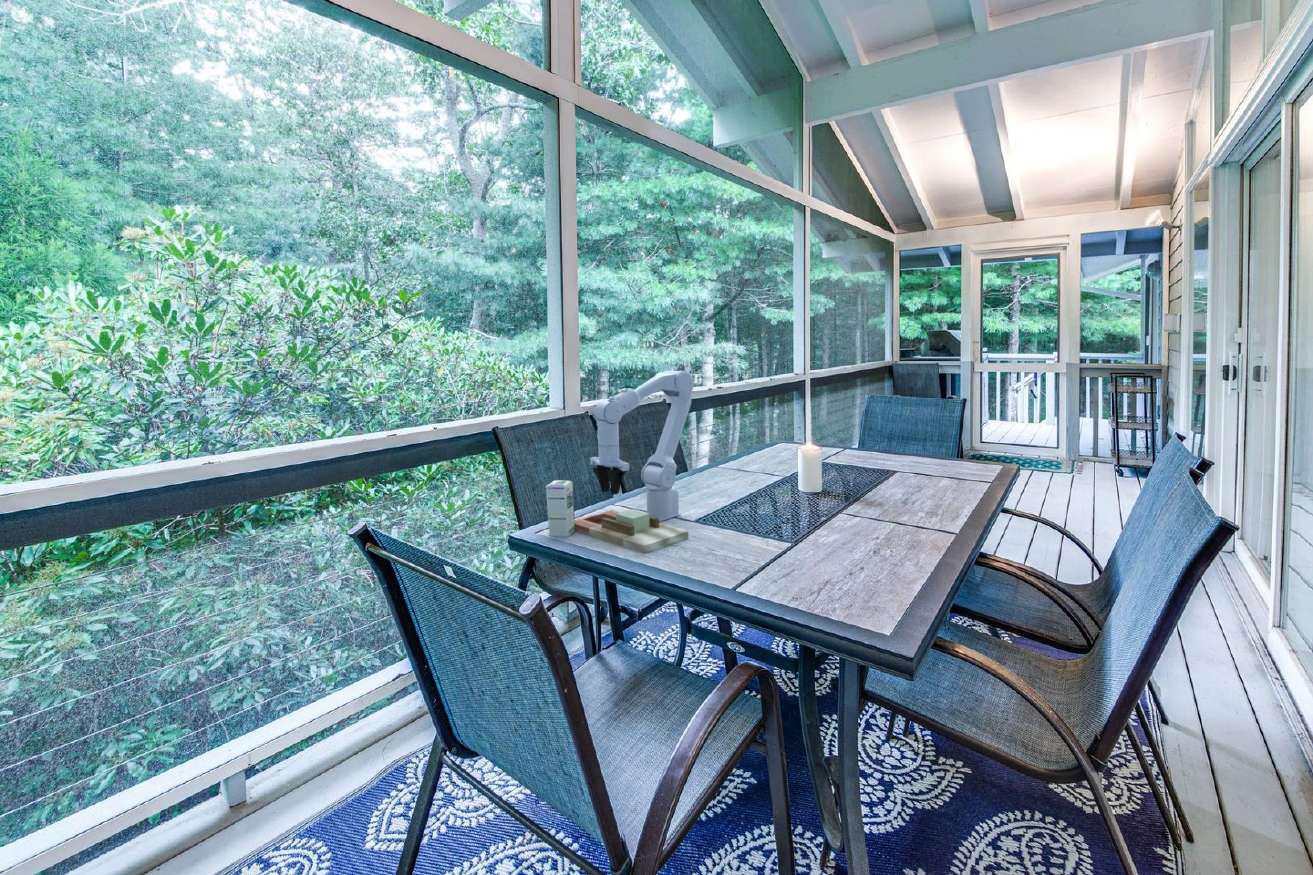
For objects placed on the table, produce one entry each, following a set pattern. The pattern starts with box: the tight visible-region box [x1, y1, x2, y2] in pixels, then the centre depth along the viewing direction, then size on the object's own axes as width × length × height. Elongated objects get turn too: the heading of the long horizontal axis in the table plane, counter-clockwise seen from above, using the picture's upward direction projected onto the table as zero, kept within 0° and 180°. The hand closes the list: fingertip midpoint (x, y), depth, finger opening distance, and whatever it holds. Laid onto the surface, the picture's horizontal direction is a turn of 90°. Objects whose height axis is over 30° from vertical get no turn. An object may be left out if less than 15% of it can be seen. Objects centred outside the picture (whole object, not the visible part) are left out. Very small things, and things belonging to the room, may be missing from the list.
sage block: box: [616, 508, 650, 533], centre depth 169 cm, size 6×7×4 cm
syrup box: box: [545, 479, 576, 537], centre depth 172 cm, size 6×6×14 cm
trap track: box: [574, 509, 689, 554], centre depth 172 cm, size 16×31×4 cm, turn 44°
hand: (610, 492), depth 175 cm, fingers open, 4 cm apart
